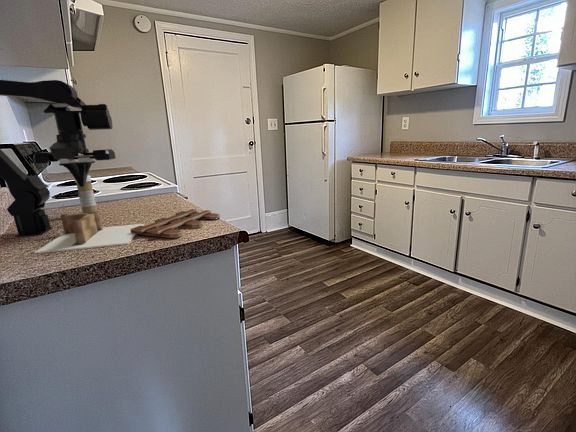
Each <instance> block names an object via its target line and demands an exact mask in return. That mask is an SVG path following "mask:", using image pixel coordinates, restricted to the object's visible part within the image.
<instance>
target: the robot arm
mask: <svg viewBox="0 0 576 432" xmlns="http://www.w3.org/2000/svg"><path fill="white" fill-rule="evenodd" d="M2 96H3V97H12V98H14V97H15V98H24V99H25V98H26V99H37V100H41V101H45V102H50V103H49V104H48V106H47V107H46V108H45V109H44V110H43V113H45V114H48V115H54V120H55V123H56V129H57V133H58V134H56V142H54V143H52V144H51V146H50V147H49V151H43V152H35V153H34V155H33V156H32V158H33V163H34V164H36V165H37V164H48V163H51V162H52V163H53V162H59V164H58V165H59V166H63V167H64V168H65V169H67V170H68V171H69V173H71V175H72V176H73V178H74V180H75V179H76V181H77V182H78V184H79V185H80V187H84V186H85V183H86V179H87V175H89V172H90V169H91V166H92V164H95V163H96V161H111V160H114V159H116V153H115V151H114V150H113V149H112V148H109V149H108V148H107V149H106V148H105V149H94V150H92V151H91V152H90V151H89V148H87V145H86V138H87V136H86V133H85V134H84V130H83V129H84V128H83V127H87V129H88V130H90V131H95V130H96V131H97V130H98V131H99V130H100V131H101V130H103V131H104V130H113V120H112V116H111V114H110V111H109V107H108V105H107V104H106V103H99V104H86V103H85V102H84V101H83V100H82V99H81V98H80V97H79V95H78V92H77V90H76V89H75V88H74V87H73V85H71V84H69V83H67V82H64V81H63V80H58V79H52V80H48V79H47V80H39V81H29V82H28V81H27V82H26V81H17V80H6V79H0V97H2ZM51 103H54V104H57V105H63V106H55V105H54V104H51ZM69 106H70V107H72V108H75V109H78V110H71V108H70V107H69ZM82 125H83V126H82ZM79 154H80V155H79ZM76 160H78V161H76ZM95 160H96V161H95ZM0 178H1V179H2V180H3V181H4V182H5V184H6V186H7V188H8V191H9V193H10V195H11V196H12V198H13V199H14V201H12V203H11V204H9V206H8V207H7V208H6V210H7V212H8V213H9V215H10V216H11V217H13V221H14V224H15V227H16V231H17V233H16V234H14V237H27V236H28V237H29V236H38V235H42V234H44V233H46V232H48V231H49V230H52V229H53V226H51V223H50V219H49V216H48V214H46V212H45V204H46V202H47V201H49V199H50V196H51V195H50V194H51V192H50V189H49V188H48V187H49V185H48V184H46V183H44V182H43V180H42V179H41V177H40V176H39V175H38V174H35V175H28V174H27V173H25V172H23V171H22V170H21V169H20V168H19V166H18V165H16V163H15V162H14V161H13V160H12V159H11V158H10V157H9V156H8V155H7V154H6V153H5V152H4V151H3V150H2V149H1V148H0Z"/></svg>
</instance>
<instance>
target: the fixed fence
mask: <svg viewBox="0 0 576 432" xmlns="http://www.w3.org/2000/svg"><path fill="white" fill-rule="evenodd" d="M93 213H94V216H95V221H96V226H97V230H98V231H99V230H101V228H102V226H101V221H100V216H99V212H98V210H97V211H93V212H88V213H83V212H82V213H71V214H70V213H62V214H60V218H61V222H62V227H63V233H74V229H73V225H72V221H76V220H80V219H81V218H83V217H84V216H86V215H87V214H93Z"/></svg>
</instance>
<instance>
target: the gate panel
mask: <svg viewBox="0 0 576 432" xmlns="http://www.w3.org/2000/svg"><path fill="white" fill-rule="evenodd" d="M72 225H73V229H74V233H75V238H76V242H77V244H84V243H86V241H87V240H88V239H89V238H90V237H92V236H93V235H94V234H95V233H96V232H97V231H98V230H97V226H96V221H95V216H94V213H93V214H87V215H86V216H84V217H83V218H81V219H80V220H76V221H72Z"/></svg>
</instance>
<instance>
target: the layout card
mask: <svg viewBox="0 0 576 432" xmlns="http://www.w3.org/2000/svg"><path fill="white" fill-rule="evenodd" d="M138 226H145V223H138V224H137V223H135V224H128V225H115V226H113V225H112V226H104V227H102V226H101V230H99V231H97V232H96V233H95V234H94V235H93V236H92V237H90V238H89V239H88V240H87V241H86V243H84V244H77V242H76V238H75V233H65V232H63V233H62V234H61V235H60V236H58V237H56V238H55V239H53V240H52V241H50V242H48V243H47V244H45V245H43V246H42V247H40V248H38V249H37V250H36V251H35V252H34V254H35V255H36V254H37V253H38V254H46V253H56V252H65V251H67V252H68V251H74V250H75V251H76V250H84V249H95V248H97V249H98V248H105V247H106V248H107V247H115V246H125V245H129V244H130V243H131V241H132V240H133V239H134V238H135V237H136V236H137V234H133V233H131V230H130V229H132V228H135V227H138Z"/></svg>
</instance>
